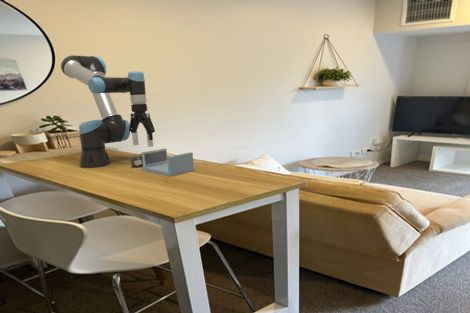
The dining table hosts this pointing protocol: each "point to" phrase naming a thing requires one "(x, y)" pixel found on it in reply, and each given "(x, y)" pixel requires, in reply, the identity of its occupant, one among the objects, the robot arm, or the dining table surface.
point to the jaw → (154, 157)
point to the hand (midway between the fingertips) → (143, 146)
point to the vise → (173, 165)
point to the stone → (137, 160)
